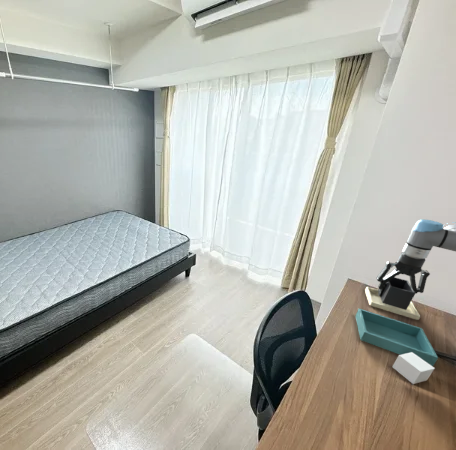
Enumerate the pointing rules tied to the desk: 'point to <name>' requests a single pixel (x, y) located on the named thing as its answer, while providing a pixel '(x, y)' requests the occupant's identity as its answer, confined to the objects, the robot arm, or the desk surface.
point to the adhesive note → (413, 367)
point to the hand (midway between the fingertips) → (391, 298)
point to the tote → (394, 335)
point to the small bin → (397, 293)
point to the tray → (377, 302)
